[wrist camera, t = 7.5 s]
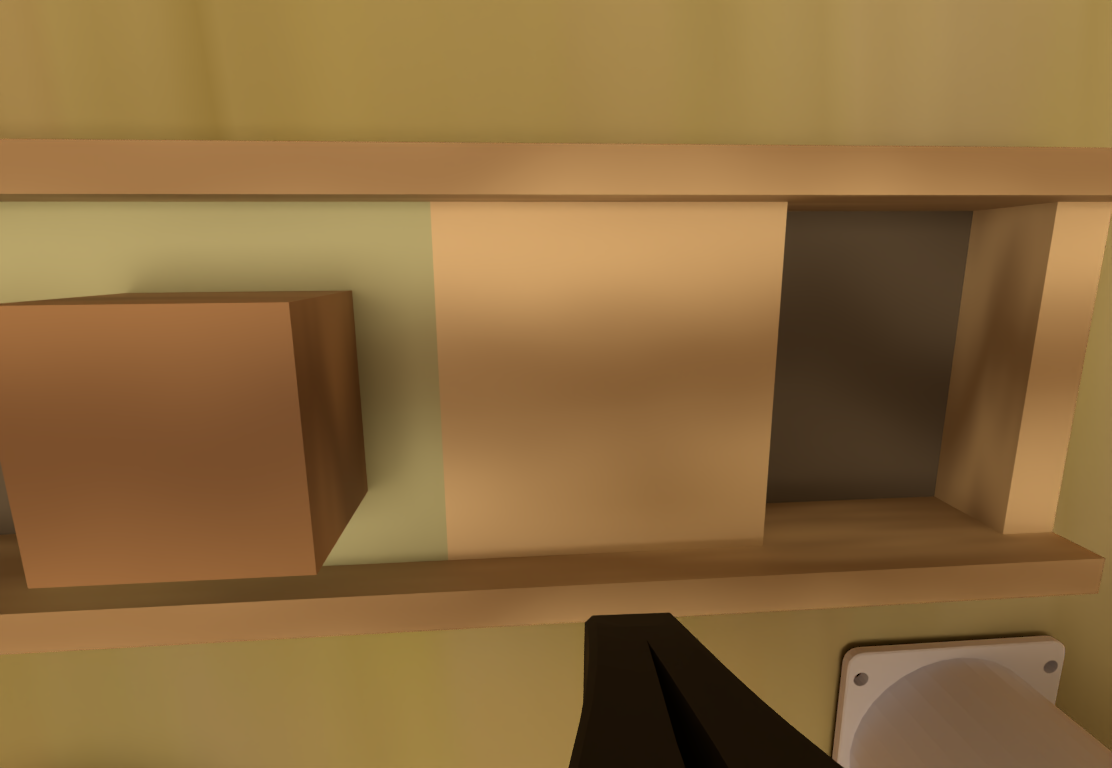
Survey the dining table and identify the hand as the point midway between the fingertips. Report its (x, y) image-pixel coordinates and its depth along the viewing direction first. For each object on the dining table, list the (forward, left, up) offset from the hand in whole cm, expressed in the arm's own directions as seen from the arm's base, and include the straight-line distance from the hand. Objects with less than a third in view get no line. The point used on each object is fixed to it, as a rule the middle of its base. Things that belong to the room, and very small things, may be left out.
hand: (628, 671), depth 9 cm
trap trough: (+3, +4, -9) cm, 11 cm away
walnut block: (+3, +8, -6) cm, 11 cm away
